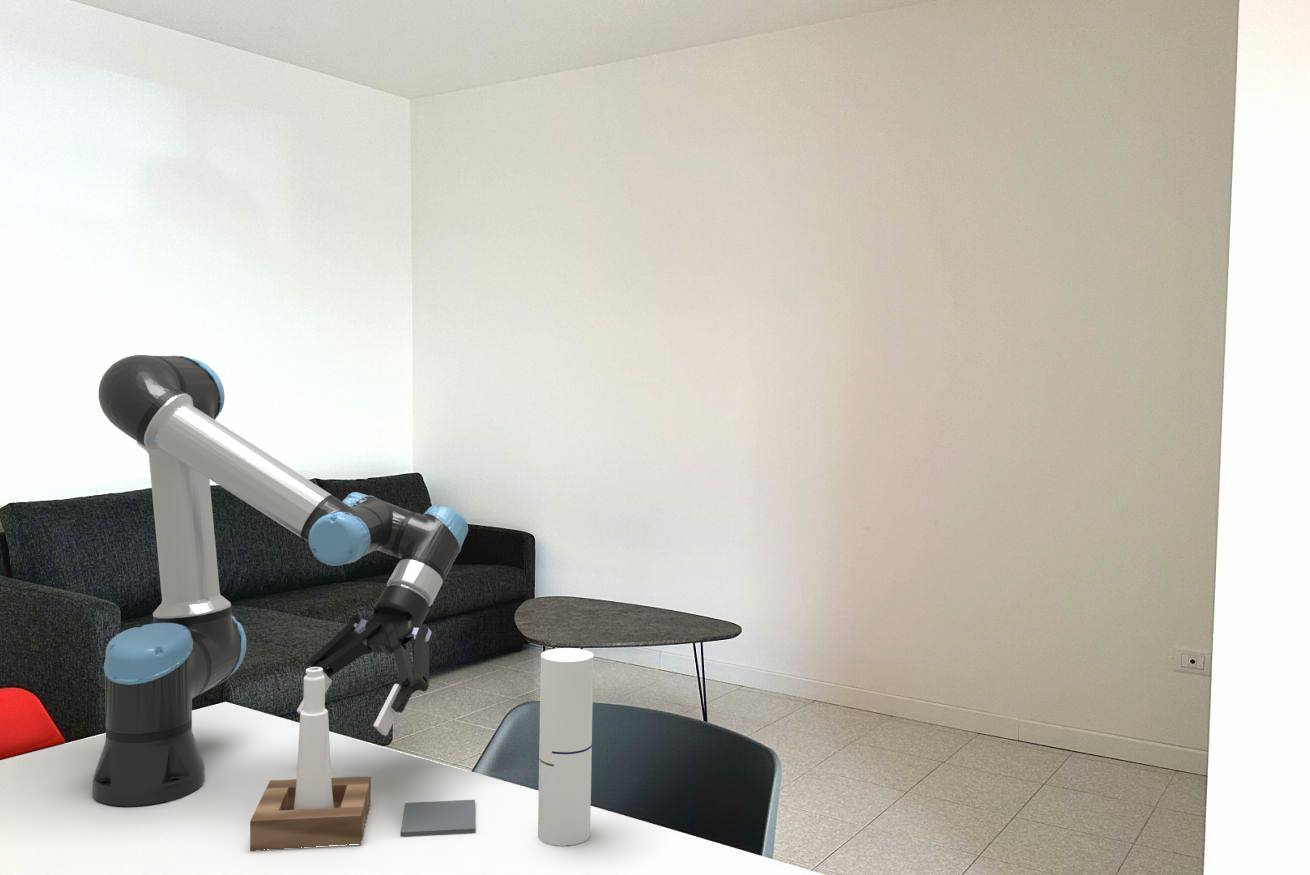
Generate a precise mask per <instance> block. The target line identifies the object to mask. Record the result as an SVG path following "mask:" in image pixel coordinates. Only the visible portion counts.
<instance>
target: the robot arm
mask: <svg viewBox="0 0 1310 875" xmlns="http://www.w3.org/2000/svg"><path fill="white" fill-rule="evenodd" d="M102 375H103V376H102V377H101V380H100V381H99V382H100V383H99V386H98V401H99V405H100V408H101V411H102V412H103V414H104V415H105V417H106V419H108V421H109V422H110V423H111V424H112V425H113V426H114V427H116V428H117V429H118V430H120V431H121V432H123V433H124V434H125V435H127V436H128V437H130V438H131V439H133V440H134V441H136V444H137V445H138V446H139V447H141V449H143V450H144V451H146V453H147V454H148V460H149V461H148V462H149V463H148V464H149V474H150V483H151V484H150V485H151V492H152V493H151V494H152V505H153V515H154V517H153V518H154V525H155V526H154V527H155V536H156V539H155V540H156V549H157V557H158V558H157V560H158V569H159V579H160V580H159V582H160V593H161V603H160V604H159V605H158V607H157V608H156V609H155V610H154V611H153V612H152V620H153V623H149V624H144V625H142V626H139V627H137V626H136V627H135V626H133V627H132V628H128V629H125V630H123V631H122V632H120V633H118V634H115V635H114V637H112V638H111V640H110V641H109V642H108V643H107V646H106V649H105V657H104V658H105V659H104V663H103V672H104V690H105V691H104V692H105V693H104V696H105V698H104V701H105V703H104V705H105V740H104V741H105V743H104V745H103V748H102V751H101V754H100V757H99V760H98V762H97V765H96V769H95V771H94V774H93V777H92V797H93V798H94V799H95V800H96V801H97V802H99V803H102V804H107V805H111V806H119V807H135V806H148V805H153V804H154V805H155V804H160V803H164V802H168V801H172V800H176V799H179V798H181V797H184V796H186V795H188V794H191V793H192V792H196V790H198V789H200V788H201V787H202V785H203V784H204V783H205V781H206V780H205V775H206V774H205V770H206V769H205V763H204V760H203V757H202V755H201V751H200V749H199V747H198V744H197V741H196V739H195V736H194V733H193V726H192V724H193V720H192V719H193V714H192V713H193V701H192V700H193V699H194V698H196V697H198V696H200V695H201V694H203V693H205V692H207V691H208V690H210V689H212V688H214V687H217V686H219V685H221V684H222V683H224V682H225V681H226V680H228V679H229V678H230V676H232V675H233V674H234V673H235V672H236V671H237V670H238V669H239V667H240V666H241V664H242V662H243V660H244V658H245V655H246V651H247V635H246V632H245V629H244V628H243V625H242V623H241V622H239V621H238V620H237V619H236V617H235V616H234V615H233V613H232V604H231V602H230V601H229V600H228V599H226V598H225V597H224V596H223V595H221V592H220V580H219V569H218V559H217V548H216V535H215V526H214V516H213V515H214V514H213V504H212V492H211V482H213V483H215V484H217V485H218V486H220V487H221V488H223V489H224V490H226V491H228V492H229V493H231V494H232V495H234V496H236V497H237V498H238V499H240V500H242V501H243V502H245V503H246V504H248V505H250V507H253V508H254V509H256V510H257V511H259V512H261V513H262V514H263V515H265V516H267V517H268V518H270V519H272V520H273V521H274V522H276V523H277V524H279V525H281V526H283V527H284V528H285V529H287V530H288V531H290V532H291V533H293V534H294V535H296V536H298V537H300V538H301V539H303V540H304V541H306V542H307V543H308V546H309V548H310V551H311V552H312V554H313V556H314V557H315V558H316V560H318V561H319V562H321V563H323V564H325V565H328V566H331V567H332V566H333V567H334V566H335V567H336V566H342V565H343V566H344V565H346V564H352V563H356V562H357V561H358V560H360V559H361V558H362V557H364V556H366V555H369V554H371V553H373V552H375V551H378V552H381V553H384V554H387V555H390V556H393V557H395V558H397V559H399V561H398V563H397V564H396V567H395V568H394V570H393V572H392V573H391V576H390V577H389V579H388V581H387V583H386V586H385V587H384V588H383V590H382V592H381V593H380V595H379V597H378V599H377V600H376V603H375V605H374V612H373V614H372V616H371V617H370V618H369V619H368V620H366V619H363V618H361V617H360V615H358V614H355V615H353V616H352V617H351V618H350V620H349V621H348V622H347V624H346V626H344V627H343V628H342V629H341V630H340V631H339V632H338V633H337V634H336V635H335V636H334V637H333V638H331V639H330V640H329V641H328V642H326V643H325V645H324V646H322V648H320V649H319V650H318V651H317V652H316V653H315V654H314V655H312V657H310V658H309V659H308V661H307V664H308V666H309V667H310V668H311V667H320V668H323V672H322V674H323V675H324V676H325V694H327V691H328V689H329V688H330V686H331V684H332V682H333V680H332V679H331V678H330V677H332V676H333V675H335V674H337V673H338V672H340V671H341V670H342V669H345V667H347V666H349V665H350V664H352V663H353V662H355V661H356V660H358V659H359V658H360V657H362V656H363V655H369V654H370V653H372V652H375V653H385V654H387V655H393V657H394V660H395V664H396V668H397V673H398V676H399V680H398V683H394V685H393V686H392V688H391V690H390V693H389V694H388V696H387V699H385V702H384V703H383V706H382V707H381V710H380V711H379V714H378V715H377V718H376V720H375V721H374V723H373V724H372V726H373V728H375V729H376V731H378V732H379V733H380V735H382V736H386V737H387V736H388V734H389V732H390V731H391V728H392V726H393V724H394V722H395V721H396V718H397V716H398V714H399V713H402V712H403V711H404V710H405V709H406V707H407V704H408V702H409V700H410V698H411V696H412V694H414V693H415V692H417V691H421V692H426V691H427V690H428V689H429V687H430V686H429V684H430V646H431V644H432V641H433V639H434V636H435V635H434V633H433V632H432V631H431V629H430V628H429V626H427V624H425V623H424V624H423V622H424V621H425V620H426V617H427V615H428V613H429V611H430V607H431V606H432V605H433V603H434V601H435V599H436V597H437V595H438V593H439V591H440V589H441V587H442V586H443V583H444V581H445V579H446V578H447V575H448V574H449V573H450V572H449V571H450V569H451V568H452V566H453V564H454V562H455V560H456V558H457V557H458V555H459V553H460V552H461V550H462V546H463V544H464V541H465V540H466V537H467V534H468V532H469V527H468V522H467V520H466V519H465V517H464V516H463V515H462V514H460V512H458V511H457V510H455V509H453V508H451V507H448V506H445V505H441V506H440V505H436V504H435V505H432V506H430V507H428V509H427V510H426V511H425V512H424V513H423V514H421V513H419V512H414V511H411V510H407V508H406V509H405V508H403V507H400V506H397V505H395V504H392V503H390V502H387V501H384V500H382V499H380V498H377V497H376V496H373V495H367V494H364V493H361V492H357V491H354V492H351V493H349V494H348V495H347V496H346V498H344V499H343V500H342V501H341V500H340V499H338V498H337V497H336V496H334V495H332V494H331V493H330V492H328V491H326V490H325V489H323V488H322V487H320V486H318V485H317V484H316V483H313V481H311V480H309V479H307V478H306V477H305V476H303V475H301V474H300V473H298V472H296V471H295V470H294V469H292V468H291V467H289V466H288V465H286V464H284V463H283V462H281V461H279V460H278V459H276V458H275V457H273V456H272V455H271V454H268V453H267V452H265V451H264V450H263V449H261V448H259V447H257V446H256V445H255V444H253V443H251V442H250V441H248V440H246V439H245V437H242V436H240V435H239V434H237V433H236V432H234V430H231V429H230V428H228V427H226V426H225V425H223V424H222V423H221V422H219V421H217V418H218V417H219V415H220V414H221V412H222V411H223V409H224V404H225V399H226V398H225V390H224V386H223V383H222V381H221V378H220V377H219V375H218V374H217V372H216V371H215V370H214V369H213V368H211V367H210V365H209V364H207V363H204V361H201V360H198V359H195V358H192V357H188V356H184V355H148V354H135V355H134V354H133V355H130V356H126V357H123V358H121V359H119V360H117V361H116V362H114V363H113V364H112V365H111V366H110V367H109V368H108V369H106V370H105V372H104V373H103V374H102ZM210 481H211V482H210ZM413 640H414V646H413V647H414V650H413V651H414V653H413V655H414V657H413V670H412V666H411V662H410V658H409V656H410V654H409V650H408V646H407V644H409V643H410V642H411V641H413ZM365 641H366V642H365ZM399 683H400V684H401V685H400V684H399ZM301 700H302V701H301V702H300V704H299V706H298V707H297V709H296V712H297V713H298V714H299V715H300V713H301V711H302V710H304V698H303V699H301Z"/></svg>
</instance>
